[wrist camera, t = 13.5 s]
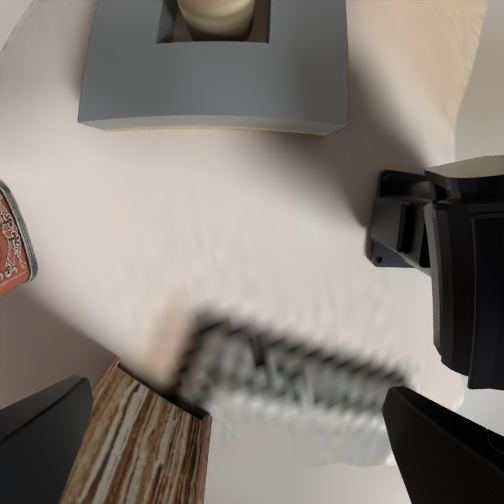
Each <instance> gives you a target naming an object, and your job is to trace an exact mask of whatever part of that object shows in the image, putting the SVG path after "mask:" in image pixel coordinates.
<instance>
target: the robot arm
mask: <svg viewBox="0 0 504 504" xmlns="http://www.w3.org/2000/svg"><path fill="white" fill-rule="evenodd" d="M424 170H425V175H426V176H423V175H417V174H411V173H405V172H399V171H392V170H382V171H381V172H380V173H379V176H378V189H377V198H376V199H375V200H374V204H373V215H372V225H371V234H370V237H371V238H372V239H373V241H372V249H371V257H370V260H371V263H372V264H373V265H375V266H377V267H402V268H417V269H419V270H420V271H422V272H424V273H425V274H427V275H429V276H430V277H431V279H432V296H433V328H434V345H435V347H436V349H437V351H438V353H439V354H440V355H441V362H442V363H443V364H444V365H446V366H447V367H448V368H450V369H451V370H453V371H455V372H458V373H460V374H462V375H465V376H468V377H469V378H468V385H467V387H468V388H469V389H497V390H504V155H501V156H500V155H498V156H483V157H478V158H473V159H468V160H464V161H459V162H454V163H449V164H445V165H440V166H436V167H431V168H427V169H424ZM385 174H387V175H388V180H387V181H386V180H385V179H384V176H385ZM378 256H380V260H379V261H378V262H376V258H377V257H378ZM93 402H94V400H93V395H92V391H91V387H90V384H89V380H88V378H87V377H85V376H80V375H73V376H71V377H69V378H67V379H65V380H63V381H61V382H59V383H56V384H54V385H52V386H50V387H48V388H46V389H44V390H42V391H40V392H38V393H35V394H33V395H31V396H29V397H27V398H25V399H23V400H21V401H18V402H16V403H14V404H12V405H10V406H8V407H5V408H3V409H1V410H0V504H59V502H60V499H61V496H62V494H63V491H64V488H65V486H66V483H67V480H68V478H69V475H70V472H71V470H72V467H73V465H74V462H75V460H76V457H77V455H78V452H79V450H80V447H81V445H82V442H83V438H84V435H85V431H86V428H87V424H88V421H89V417H90V414H91V411H92V407H93ZM382 413H383V417H384V421H385V425H386V428H387V432H388V436H389V440H390V444H391V448H392V451H393V454H394V457H395V460H396V462H397V465H398V467H399V470H400V473H401V476H402V478H403V481H404V484H405V486H406V489H407V492H408V495H409V498H410V500H411V503H412V504H504V436H502V435H499V434H497V433H495V432H493V431H491V430H489V429H487V430H486V428H485V427H483V426H481V425H479V424H477V423H475V422H473V421H471V420H469V419H467V418H465V417H462V416H461V415H459V414H457V413H455V412H453V411H451V410H449V409H447V408H445V407H443V406H441V405H439V404H438V403H436V402H434V401H432V400H430V399H428V398H426V397H424V396H422V395H420V394H419V393H417V392H415V391H413V390H411V389H409V388H407V387H405V386H404V385H397V386H392V387H390V388H389V390H388V393H387V396H386V398H385V401H384V404H383V408H382Z"/></svg>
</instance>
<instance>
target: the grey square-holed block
mask: <svg viewBox="0 0 504 504" xmlns="http://www.w3.org/2000/svg"><path fill="white" fill-rule="evenodd" d="M78 123H81V124H84V125H88V126H91V127H95V128H98V129H102V130H105V131H109V132H111V131H126V130H144V129H179V128H210V129H245V130H264V131H279V132H291V133H303V134H313V135H322V136H326V135H328V134H331V133H333V132H335V131H337V130H339V129H342V128H344V127H346V126H348V40H347V18H346V2H345V0H255V4H254V15H253V26H252V31H251V33H250V35H249V37H248V38H247V39H246V40H245V41H244V42H234V41H199V42H195V41H194V40H193V39H192V37H191V35H190V33H189V30H188V28H187V25H186V23H185V20H184V17H183V15H182V12H181V10H180V7H179V5H178V2H177V0H99V1H98V5H97V9H96V12H95V17H94V21H93V25H92V29H91V34H90V39H89V44H88V49H87V54H86V60H85V66H84V72H83V79H82V86H81V94H80V102H79V112H78Z"/></svg>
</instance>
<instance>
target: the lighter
mask: <svg viewBox="0 0 504 504" xmlns="http://www.w3.org/2000/svg"><path fill="white" fill-rule="evenodd" d="M37 272H38V265H37V261H36V257H35V254H34V250H33V246H32V243H31V240H30V237H29V234H28V231H27V227H26V224H25V222H24V220H23V217H22V215H21V212H20V210H19V207H18V205H17V203H16V201H15V199H14V197H13V195H12V193H11V191H10V190H9V188H8V187H6V186H0V296H2V295H3V294H5V293H7V292H8V291H10V290H12V289H13V288H15V287H17V286H19V285H20V284H22V285H23V284H26V283H28V282H30V281H32V280H33V279H34V278H35V277H36V275H37Z"/></svg>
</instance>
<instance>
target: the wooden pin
mask: <svg viewBox="0 0 504 504" xmlns="http://www.w3.org/2000/svg"><path fill="white" fill-rule="evenodd" d="M177 2H178V5H179V7H180V10H181V12H182V15H183V17H184V20H185V23H186V25H187V28H188V30H189V33H190V35H191V37H192V39H193V40H194V41H195V42H199V41H234V42H244V41H245V40H246V39H247V38H248V37H249V35H250V33H251V31H252V26H253V15H254V4H255V0H177Z"/></svg>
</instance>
